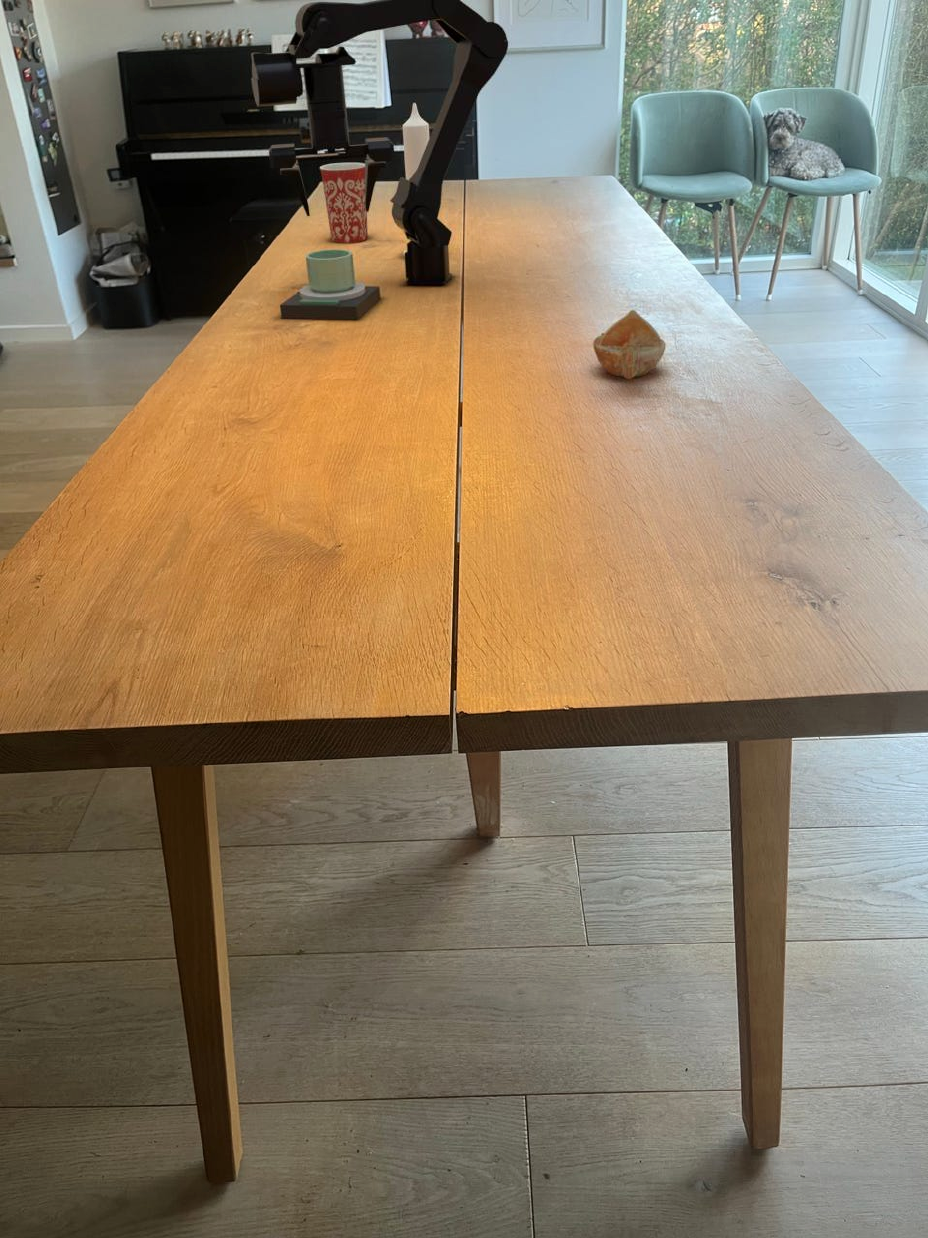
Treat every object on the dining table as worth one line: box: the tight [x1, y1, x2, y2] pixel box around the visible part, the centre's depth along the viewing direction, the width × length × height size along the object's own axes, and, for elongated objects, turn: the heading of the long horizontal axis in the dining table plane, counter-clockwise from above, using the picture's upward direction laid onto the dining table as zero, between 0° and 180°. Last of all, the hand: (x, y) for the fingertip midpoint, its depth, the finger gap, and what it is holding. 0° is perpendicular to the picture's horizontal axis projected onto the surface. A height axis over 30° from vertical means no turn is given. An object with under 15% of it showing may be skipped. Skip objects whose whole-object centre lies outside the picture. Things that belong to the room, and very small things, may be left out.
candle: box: [402, 102, 430, 258], centre depth 175 cm, size 7×7×25 cm
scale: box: [279, 281, 381, 321], centre depth 151 cm, size 12×12×3 cm
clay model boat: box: [592, 309, 667, 380], centre depth 119 cm, size 9×21×10 cm, turn 173°
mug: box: [319, 162, 369, 244], centre depth 195 cm, size 13×9×14 cm
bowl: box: [305, 248, 356, 293], centre depth 150 cm, size 7×7×5 cm
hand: (337, 213), depth 154 cm, fingers open, 9 cm apart
